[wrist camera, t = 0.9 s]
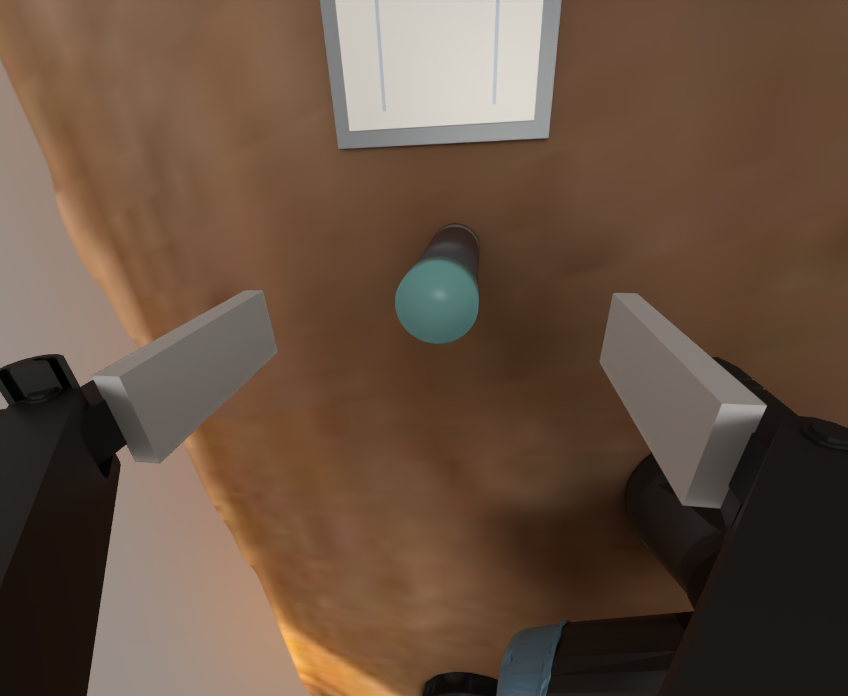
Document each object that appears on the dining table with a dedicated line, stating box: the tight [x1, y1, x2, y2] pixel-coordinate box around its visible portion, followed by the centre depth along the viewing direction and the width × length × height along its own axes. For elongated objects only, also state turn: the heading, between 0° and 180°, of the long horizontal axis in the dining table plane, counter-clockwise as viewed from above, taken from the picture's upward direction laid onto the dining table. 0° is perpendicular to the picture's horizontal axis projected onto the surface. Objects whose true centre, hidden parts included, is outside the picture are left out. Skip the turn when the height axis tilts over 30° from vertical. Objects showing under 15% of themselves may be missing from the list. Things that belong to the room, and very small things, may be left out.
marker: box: [395, 223, 479, 344], centre depth 23 cm, size 4×4×13 cm
